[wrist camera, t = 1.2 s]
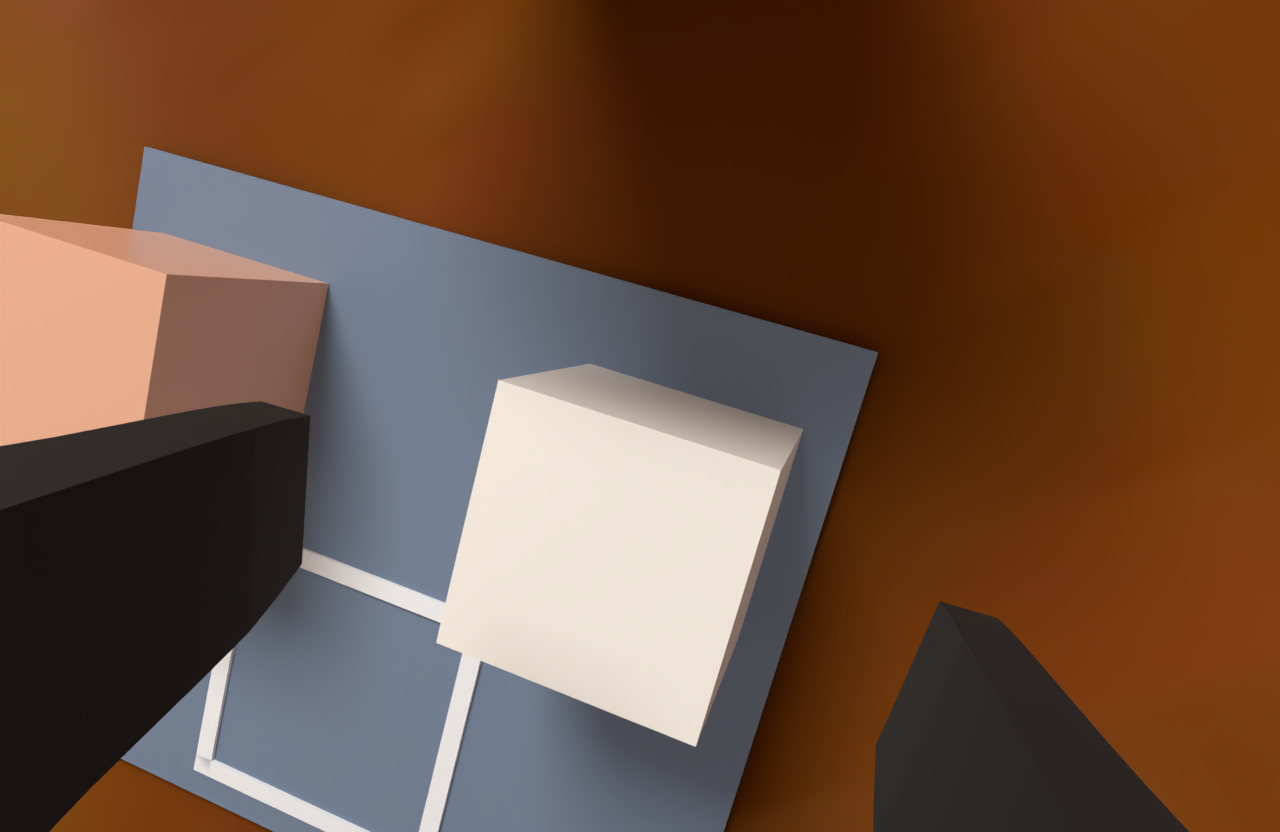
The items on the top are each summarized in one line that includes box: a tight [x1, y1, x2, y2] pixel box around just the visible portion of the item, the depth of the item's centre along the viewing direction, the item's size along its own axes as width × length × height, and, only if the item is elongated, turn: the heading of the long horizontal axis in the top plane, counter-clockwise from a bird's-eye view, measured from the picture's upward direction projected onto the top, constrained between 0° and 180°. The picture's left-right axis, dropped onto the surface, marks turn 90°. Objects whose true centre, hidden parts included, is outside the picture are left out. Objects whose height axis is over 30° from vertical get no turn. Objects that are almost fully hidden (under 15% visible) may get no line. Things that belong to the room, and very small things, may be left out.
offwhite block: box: [436, 364, 803, 747], centre depth 17 cm, size 5×5×5 cm
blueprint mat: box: [121, 147, 878, 832], centre depth 21 cm, size 17×19×1 cm
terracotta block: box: [0, 214, 329, 446], centre depth 19 cm, size 5×5×5 cm
